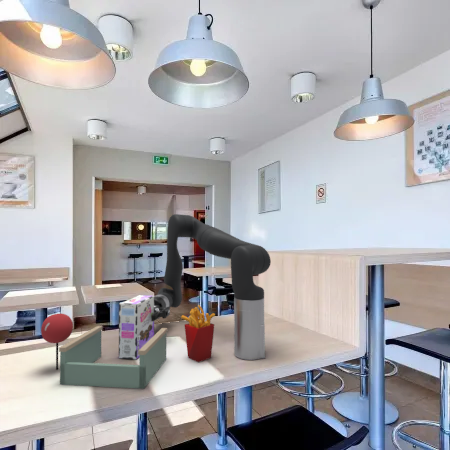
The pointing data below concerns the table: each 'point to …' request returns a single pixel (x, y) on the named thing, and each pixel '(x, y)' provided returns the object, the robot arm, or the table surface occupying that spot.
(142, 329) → the candy box
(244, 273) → the robot arm
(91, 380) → the low partition wall
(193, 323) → the french fries
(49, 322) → the lollipop
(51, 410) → the table surface
